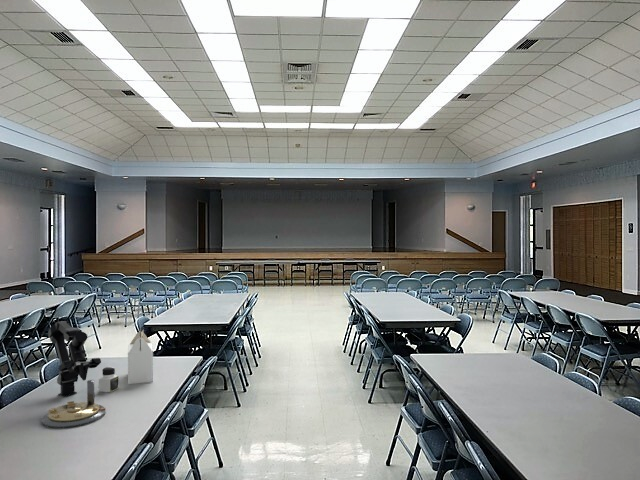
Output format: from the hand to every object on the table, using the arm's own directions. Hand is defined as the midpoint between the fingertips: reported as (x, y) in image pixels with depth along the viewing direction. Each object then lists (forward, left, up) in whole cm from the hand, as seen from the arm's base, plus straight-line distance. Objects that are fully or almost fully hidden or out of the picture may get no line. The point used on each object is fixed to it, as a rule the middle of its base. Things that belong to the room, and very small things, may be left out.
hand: (84, 380), depth 237 cm
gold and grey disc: (+8, -12, -13) cm, 19 cm away
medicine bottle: (-9, +23, -13) cm, 28 cm away
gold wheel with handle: (+8, -12, -11) cm, 18 cm away
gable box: (-10, +47, -13) cm, 49 cm away
